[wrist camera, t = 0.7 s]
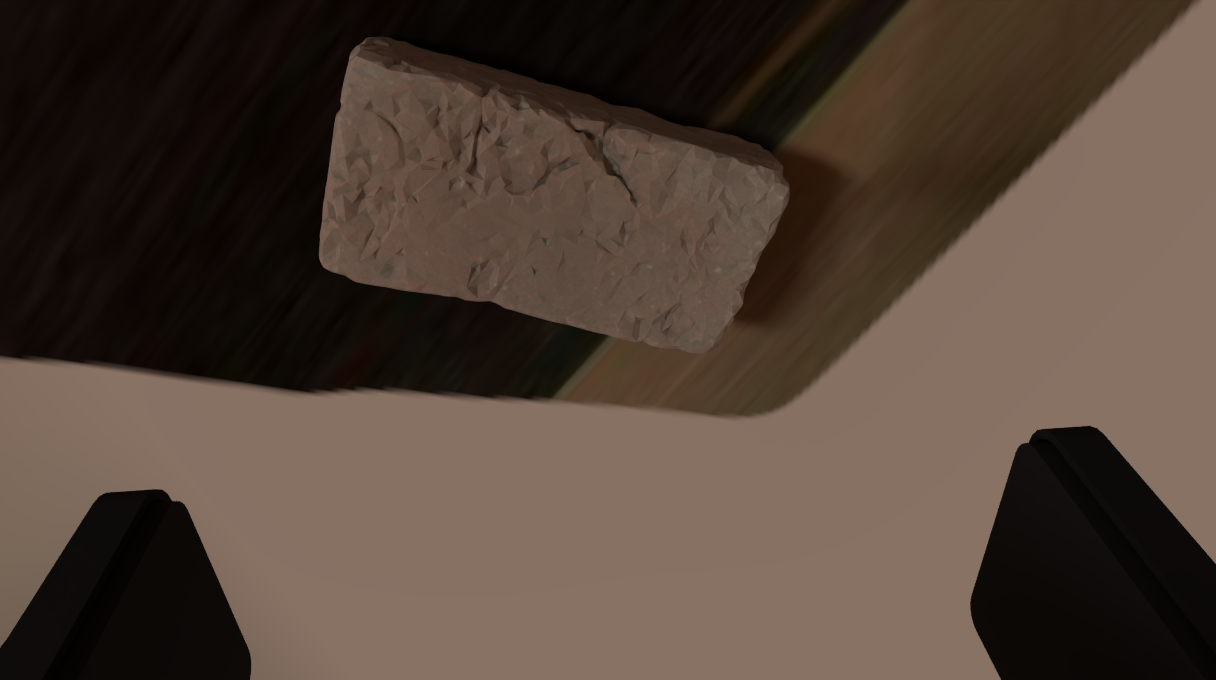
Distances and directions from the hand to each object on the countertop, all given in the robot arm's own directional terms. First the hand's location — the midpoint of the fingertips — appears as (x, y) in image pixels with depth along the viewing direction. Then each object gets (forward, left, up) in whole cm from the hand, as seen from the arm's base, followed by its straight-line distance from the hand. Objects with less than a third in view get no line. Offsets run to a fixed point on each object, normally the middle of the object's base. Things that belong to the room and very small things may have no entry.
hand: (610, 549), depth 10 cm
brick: (+6, -1, -26) cm, 26 cm away
